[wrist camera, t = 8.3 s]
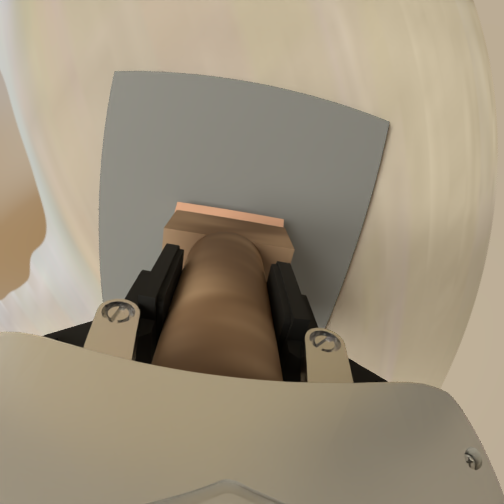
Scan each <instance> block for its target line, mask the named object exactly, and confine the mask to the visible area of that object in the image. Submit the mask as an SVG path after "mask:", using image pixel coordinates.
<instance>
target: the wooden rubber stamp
mask: <svg viewBox="0 0 504 504" xmlns="http://www.w3.org/2000/svg"><path fill="white" fill-rule="evenodd" d="M167 243H168V244H174V245H180V249H183V250H184V258H183V268H182V273H181V275H180V278H179V281H178V284H177V287H176V290H175V292H174V295H173V298H172V301H171V304H170V307H169V310H168V313H167V316H166V319H165V322H164V325H163V328H162V331H161V334H160V337H159V341H158V344H157V347H156V350H155V353H154V357H153V360H152V363H151V364H152V365H157V366H162V367H167V368H172V369H178V370H184V371H190V372H196V373H203V374H211V375H218V376H227V377H235V378H245V379H256V380H268V381H283V377H282V371H281V365H280V359H279V353H278V347H277V341H276V335H275V330H274V324H273V318H272V312H271V306H270V301H269V295H268V289H267V284H266V283H267V279H268V275H269V271H270V267H271V264H276V262H277V261H280V262H286V263H290V264H291V260H292V257H293V253H294V250H295V249H294V247H293V245H292V243H291V240H290V238H289V236H288V234H287V231H286V229H285V228H284V227H278V226H272V225H267V224H261V223H255V222H250V221H244V220H238V219H232V218H226V217H220V216H214V215H208V214H201V213H195V212H189V211H182V210H176V212H175V213H174V214H173V216H172V217H171V218H170V220H169V221H168V223H167V224H166V226H165V227H164V231H163V244H162V250H163V249H164V247H165V245H166V244H167Z"/></svg>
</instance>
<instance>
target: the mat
mask: <svg viewBox="0 0 504 504" xmlns="http://www.w3.org/2000/svg"><path fill="white" fill-rule="evenodd" d="M388 127H389V121H386V120H384V119H381V118H378V117H376V116H373V115H370V114H368V113H365V112H362V111H359V110H356V109H353V108H350V107H347V106H344V105H341V104H338V103H335V102H332V101H328V100H325V99H321V98H318V97H314V96H311V95H307V94H303V93H299V92H295V91H291V90H287V89H283V88H278V87H273V86H269V85H264V84H259V83H253V82H248V81H242V80H236V79H229V78H222V77H214V76H206V75H197V74H186V73H172V72H151V71H115V72H114V77H113V81H112V86H111V92H110V97H109V103H108V109H107V116H106V123H105V131H104V139H103V149H102V159H101V173H100V191H99V255H100V274H101V287H102V298H103V303H104V302H106V301H108V300H112V299H125V297H126V296H127V294H128V292H129V290H130V289H131V287H132V285H133V284H134V282H135V280H136V279H137V277H138V275H139V274H140V272H141V271H142V270H147V271H151V270H152V268H153V266H154V264H155V263H156V261H157V259H158V257H159V256H160V254H161V252H162V244H163V231H164V227H165V226H166V224H167V223H168V221H169V220H170V218H171V217H172V216H173V214H174V213H175V209H176V205H177V202H183V203H189V204H196V205H203V206H209V207H215V208H221V209H228V210H234V211H240V212H246V213H251V214H257V215H263V216H269V217H274V218H280V219H284V226H283V227H284V228H285V229H286V231H287V234H288V236H289V238H290V240H291V243H292V245H293V247H294V249H295V250H294V253H293V257H292V260H291V266H292V269H293V272H294V275H295V277H296V280H297V283H298V286H299V288H300V291H301V294H303V295H306V296H307V298H308V301H309V303H310V306H311V309H312V312H313V314H314V317H315V320H316V322H317V325H318V328H324V329H325V327H326V325H327V322H328V320H329V318H330V315H331V313H332V310H333V308H334V305H335V303H336V300H337V297H338V295H339V292H340V289H341V287H342V284H343V281H344V279H345V276H346V273H347V270H348V268H349V265H350V262H351V259H352V256H353V253H354V250H355V247H356V244H357V241H358V238H359V235H360V232H361V229H362V226H363V222H364V219H365V216H366V213H367V209H368V206H369V202H370V199H371V195H372V192H373V188H374V185H375V181H376V177H377V173H378V169H379V166H380V162H381V157H382V153H383V149H384V145H385V141H386V136H387V132H388Z"/></svg>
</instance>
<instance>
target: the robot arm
mask: <svg viewBox="0 0 504 504" xmlns="http://www.w3.org/2000/svg"><path fill="white" fill-rule="evenodd" d="M183 258H184V250H183V249H180V245H174V244H168V243H167V244H166V245H165V247H164V249H163V250H162V252H161V254H160V256H159V257H158V259H157V261H156V263H155V264H154V266H153V268H152V270H151V271H147V270H142V271H141V272H140V274H139V275H138V277H137V279H136V280H135V282H134V284H133V285H132V287H131V289H130V290H129V292H128V294H127V296H126V297H125V299H112V300H108V301H106V302H104V303H102V304H101V305H100V306H99V308H98V309H97V312H96V314H95V317H94V319H93V321H91V322H87V323H84V324H81V325H77V326H74V327H71V328H67V329H64V330H61V331H57V332H54V333H50V334H47V335H44V336H38V335H34V334H28V333H21V332H0V504H504V495H503V492H502V489H501V487H500V484H499V481H498V479H497V477H496V474H495V472H494V470H493V467H492V465H491V463H490V460H489V458H488V456H487V454H486V452H485V450H484V447H483V445H482V443H481V441H480V440H479V438H478V436H477V434H476V432H475V430H474V429H473V427H472V425H471V423H470V422H469V420H468V418H467V417H466V415H465V414H464V412H463V410H462V409H461V408H460V406H459V405H458V404H457V402H456V401H455V400H454V399H453V397H452V396H450V394H448V393H447V392H445V391H443V390H441V389H439V388H436V387H433V386H429V385H426V384H420V383H413V382H387V381H386V380H384V379H383V378H381V377H379V376H377V375H376V374H374V373H372V372H371V371H369V370H367V369H366V368H364V367H362V366H361V365H359V364H357V363H356V362H354V361H352V360H351V359H349V358H348V355H347V351H346V347H345V343H344V341H343V339H342V338H341V337H340V336H339V335H338V334H336V333H335V332H333V331H331V330H328V329H324V328H318V325H317V322H316V320H315V317H314V314H313V312H312V309H311V306H310V303H309V301H308V298H307V296H306V295H303V294H301V291H300V288H299V286H298V283H297V280H296V277H295V275H294V272H293V269H292V266H291V264H290V263H286V262H280V261H277V262H276V264H271V267H270V271H269V275H268V279H267V283H266V284H267V289H268V295H269V301H270V306H271V312H272V318H273V324H274V330H275V335H276V341H277V347H278V353H279V359H280V365H281V371H282V377H283V381H268V380H256V379H245V378H235V377H227V376H218V375H211V374H203V373H196V372H190V371H184V370H178V369H172V368H167V367H162V366H157V365H152V364H151V363H152V360H153V357H154V353H155V350H156V347H157V344H158V341H159V337H160V334H161V331H162V328H163V325H164V322H165V319H166V316H167V313H168V310H169V307H170V304H171V301H172V298H173V295H174V292H175V290H176V287H177V284H178V281H179V278H180V275H181V273H182V268H183Z"/></svg>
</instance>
